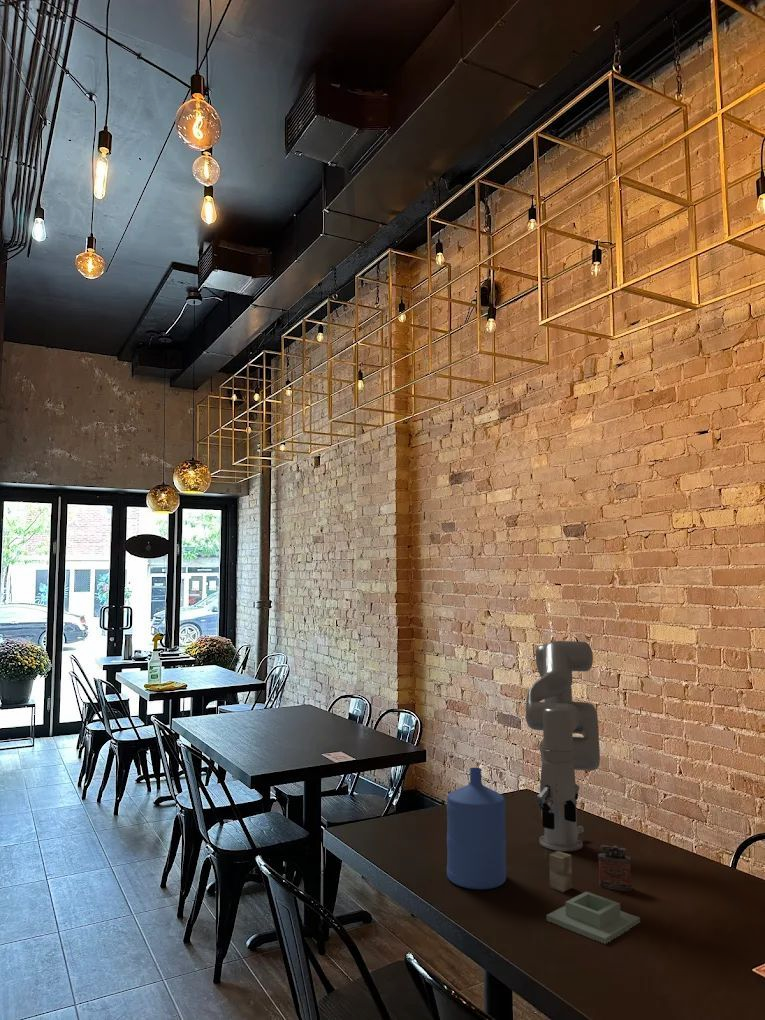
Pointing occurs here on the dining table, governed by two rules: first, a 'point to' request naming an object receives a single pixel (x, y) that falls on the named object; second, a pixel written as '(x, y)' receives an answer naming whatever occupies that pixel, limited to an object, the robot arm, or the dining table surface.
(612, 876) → the lighter
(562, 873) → the birch peg
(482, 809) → the water jug
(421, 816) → the dining table surface
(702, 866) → the dining table surface
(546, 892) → the dining table surface
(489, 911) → the dining table surface
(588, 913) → the slot holder
